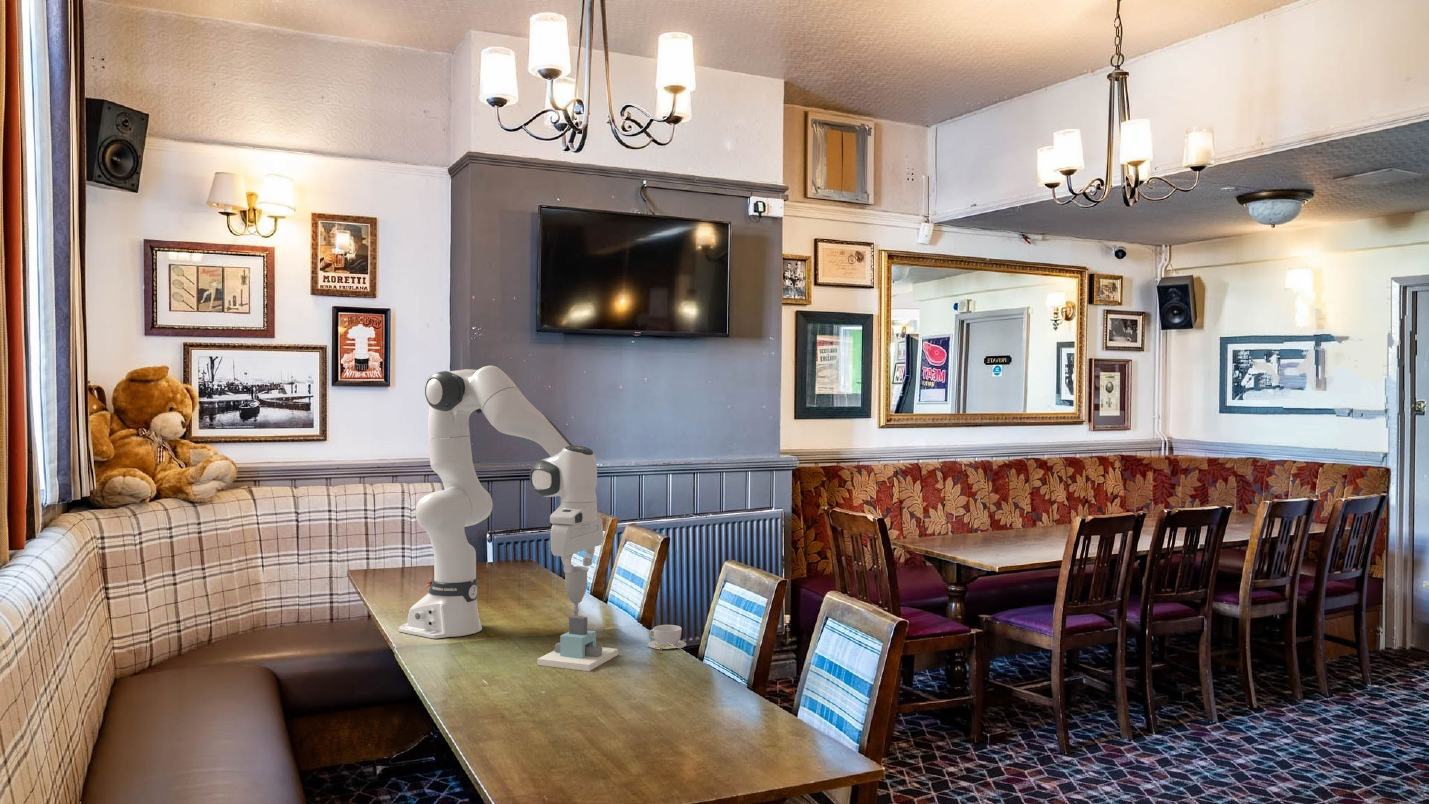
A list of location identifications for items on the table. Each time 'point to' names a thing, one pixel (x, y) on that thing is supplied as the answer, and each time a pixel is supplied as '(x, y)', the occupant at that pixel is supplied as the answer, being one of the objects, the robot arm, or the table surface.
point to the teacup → (666, 636)
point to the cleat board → (589, 662)
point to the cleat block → (576, 638)
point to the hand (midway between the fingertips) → (578, 569)
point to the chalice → (576, 585)
